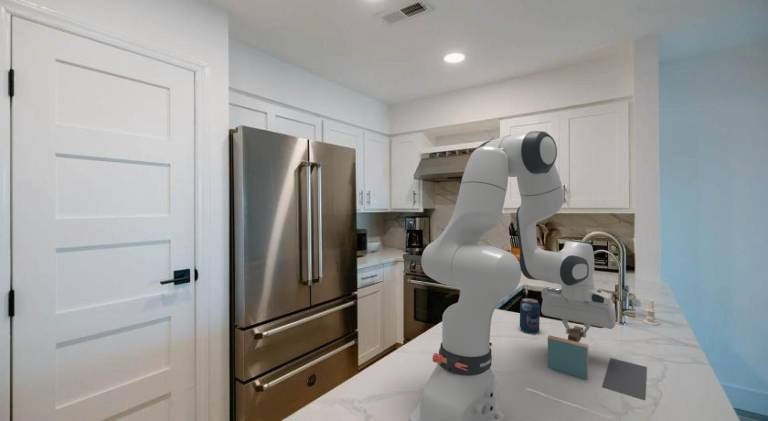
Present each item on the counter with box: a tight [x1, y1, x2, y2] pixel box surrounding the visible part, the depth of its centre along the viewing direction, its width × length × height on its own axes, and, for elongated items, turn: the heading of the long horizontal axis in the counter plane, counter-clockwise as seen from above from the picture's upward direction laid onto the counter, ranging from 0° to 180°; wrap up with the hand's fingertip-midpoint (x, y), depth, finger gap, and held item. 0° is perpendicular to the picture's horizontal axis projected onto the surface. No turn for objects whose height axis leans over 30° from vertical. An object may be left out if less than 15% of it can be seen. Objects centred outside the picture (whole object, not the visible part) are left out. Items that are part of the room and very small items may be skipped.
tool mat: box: [601, 357, 648, 401], centre depth 92 cm, size 22×9×1 cm, turn 140°
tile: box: [547, 334, 590, 380], centre depth 94 cm, size 2×10×10 cm, turn 50°
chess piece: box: [642, 298, 660, 326], centre depth 137 cm, size 5×5×10 cm
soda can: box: [519, 297, 541, 335], centre depth 126 cm, size 7×7×12 cm
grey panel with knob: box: [567, 325, 584, 343], centre depth 101 cm, size 18×6×2 cm, turn 140°
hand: (576, 335), depth 104 cm, fingers closed on grey panel with knob, 2 cm apart
